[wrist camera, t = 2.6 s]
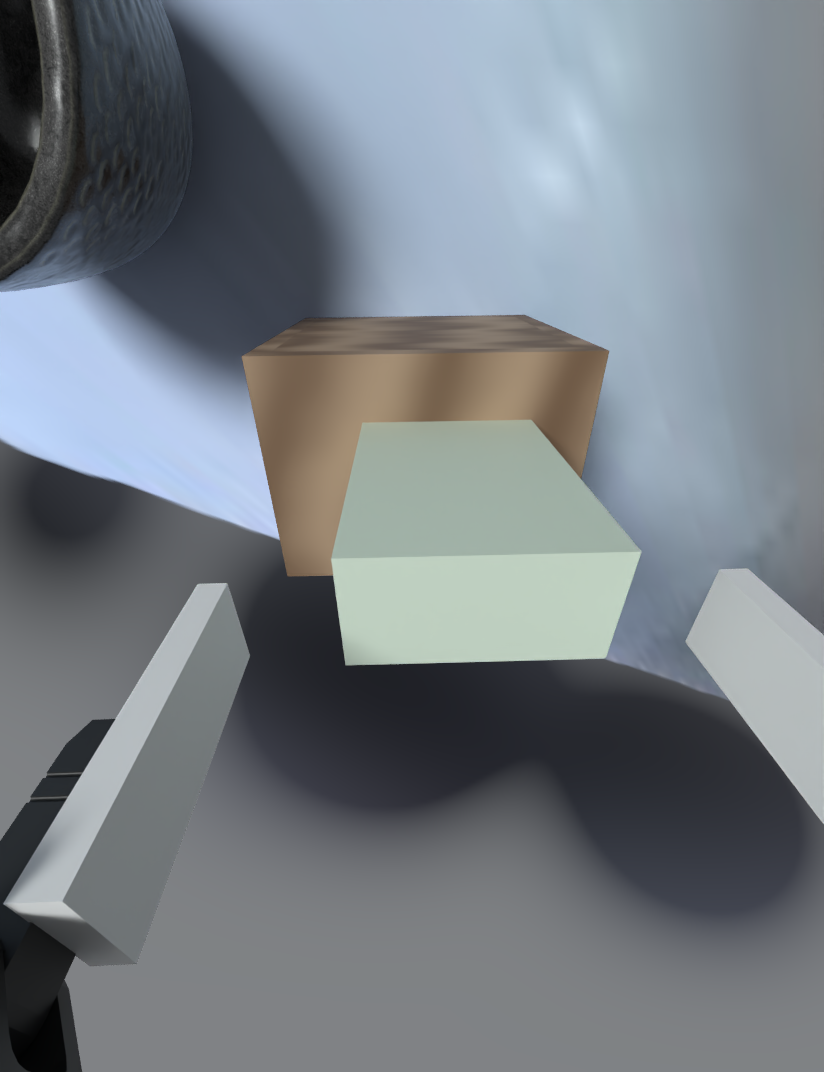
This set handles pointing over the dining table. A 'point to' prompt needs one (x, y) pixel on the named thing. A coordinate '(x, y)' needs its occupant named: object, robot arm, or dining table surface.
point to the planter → (87, 136)
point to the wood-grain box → (402, 401)
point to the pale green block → (474, 549)
